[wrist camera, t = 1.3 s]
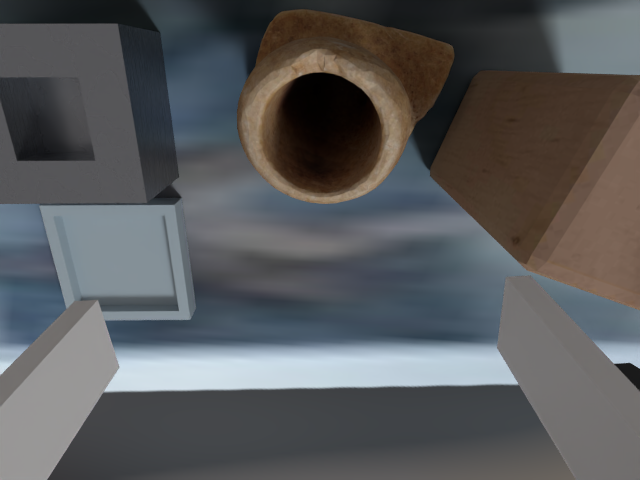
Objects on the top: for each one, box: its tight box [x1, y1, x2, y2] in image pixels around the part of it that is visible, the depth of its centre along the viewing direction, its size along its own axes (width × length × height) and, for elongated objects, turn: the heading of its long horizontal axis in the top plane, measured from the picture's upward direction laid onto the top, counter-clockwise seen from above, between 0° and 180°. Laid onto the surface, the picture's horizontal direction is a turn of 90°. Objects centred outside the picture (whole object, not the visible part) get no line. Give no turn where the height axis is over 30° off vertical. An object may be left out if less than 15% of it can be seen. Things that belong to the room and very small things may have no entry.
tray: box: [39, 198, 196, 320], centre depth 41 cm, size 12×12×2 cm
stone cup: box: [237, 9, 455, 204], centre depth 30 cm, size 15×12×15 cm
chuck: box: [0, 24, 179, 204], centre depth 33 cm, size 12×18×8 cm, turn 90°
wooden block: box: [430, 70, 640, 310], centre depth 29 cm, size 10×10×20 cm
